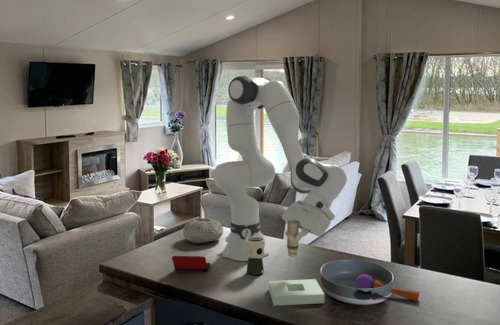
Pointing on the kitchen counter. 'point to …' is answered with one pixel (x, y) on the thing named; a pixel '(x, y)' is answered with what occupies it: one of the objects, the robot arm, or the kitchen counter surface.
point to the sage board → (296, 292)
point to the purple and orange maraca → (368, 282)
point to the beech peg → (292, 237)
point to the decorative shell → (202, 230)
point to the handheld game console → (190, 263)
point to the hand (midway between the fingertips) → (291, 237)
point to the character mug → (255, 254)
